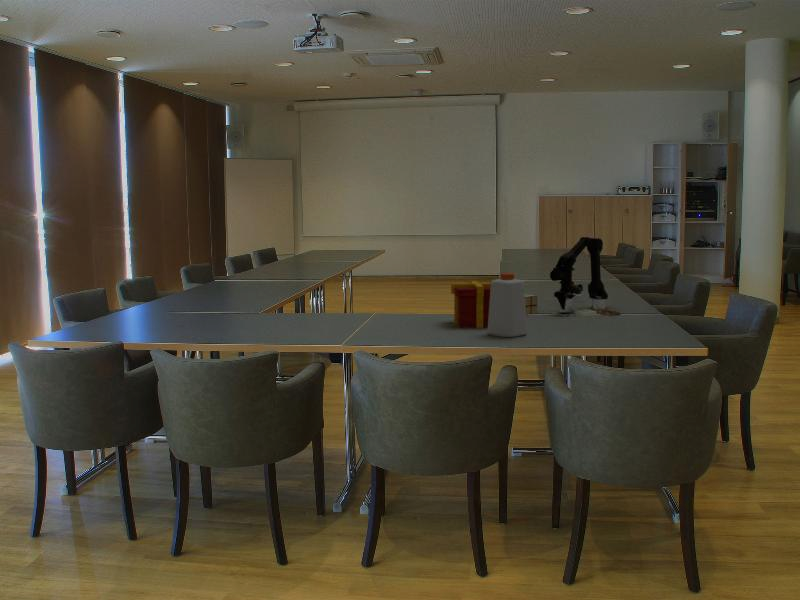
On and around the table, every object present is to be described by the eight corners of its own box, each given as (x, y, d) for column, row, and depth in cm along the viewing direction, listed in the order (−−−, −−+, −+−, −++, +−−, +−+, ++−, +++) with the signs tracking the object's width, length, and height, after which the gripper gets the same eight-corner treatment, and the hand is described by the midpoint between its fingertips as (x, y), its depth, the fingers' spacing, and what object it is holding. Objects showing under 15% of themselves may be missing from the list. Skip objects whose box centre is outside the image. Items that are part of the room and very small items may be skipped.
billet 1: (559, 311, 421) (560, 298, 420) (567, 310, 422) (567, 297, 421) (564, 312, 416) (564, 299, 415) (571, 311, 418) (572, 298, 417)
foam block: (559, 301, 480) (560, 287, 478) (576, 300, 480) (577, 287, 479) (564, 303, 470) (564, 289, 469) (581, 303, 471) (581, 289, 470)
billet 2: (592, 312, 422) (593, 298, 421) (600, 311, 424) (600, 298, 423) (598, 313, 418) (598, 299, 417) (605, 312, 419) (605, 299, 418)
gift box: (506, 328, 382) (506, 286, 379) (454, 329, 380) (454, 286, 378) (497, 320, 406) (497, 280, 404) (448, 320, 405) (448, 281, 402)
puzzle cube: (510, 313, 427) (511, 295, 426) (524, 312, 433) (524, 293, 432) (524, 316, 419) (524, 297, 418) (537, 314, 425) (537, 295, 424)
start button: (580, 315, 414) (580, 309, 414) (586, 314, 416) (586, 309, 416) (584, 316, 411) (584, 310, 410) (590, 315, 412) (591, 310, 412)
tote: (551, 314, 423) (551, 312, 422) (568, 313, 427) (568, 311, 426) (562, 317, 412) (562, 315, 412) (580, 315, 417) (580, 313, 416)
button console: (574, 316, 416) (574, 310, 415) (587, 315, 419) (587, 309, 418) (583, 318, 408) (583, 312, 408) (596, 317, 411) (596, 311, 411)
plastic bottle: (505, 330, 374) (506, 271, 370) (530, 334, 363) (531, 273, 359) (483, 334, 364) (483, 273, 361) (508, 338, 353) (508, 276, 349)
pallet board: (586, 314, 423) (586, 309, 423) (601, 312, 427) (601, 307, 426) (606, 318, 407) (606, 313, 406) (622, 317, 410) (623, 312, 410)
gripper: (574, 282, 405) (573, 312, 407) (587, 278, 420) (587, 307, 422) (553, 280, 411) (553, 310, 413) (567, 277, 426) (567, 306, 428)
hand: (565, 308), depth 419 cm, fingers closed on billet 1, 6 cm apart
